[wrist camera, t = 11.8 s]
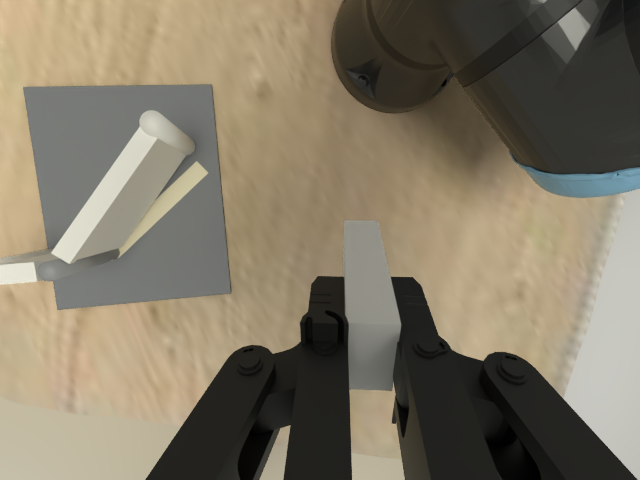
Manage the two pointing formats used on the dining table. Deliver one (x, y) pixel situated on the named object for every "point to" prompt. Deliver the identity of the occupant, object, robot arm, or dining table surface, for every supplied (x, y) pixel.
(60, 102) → the card
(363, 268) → the robot arm
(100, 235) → the fence panel
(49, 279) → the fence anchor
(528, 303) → the dining table surface
